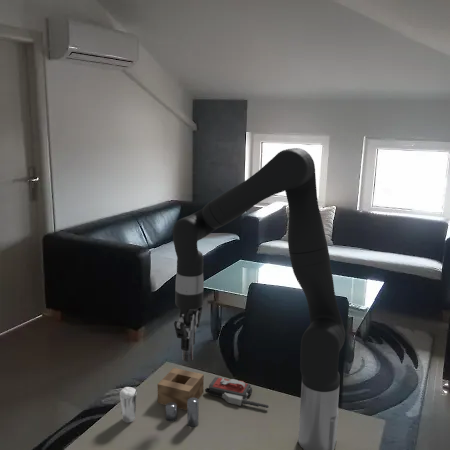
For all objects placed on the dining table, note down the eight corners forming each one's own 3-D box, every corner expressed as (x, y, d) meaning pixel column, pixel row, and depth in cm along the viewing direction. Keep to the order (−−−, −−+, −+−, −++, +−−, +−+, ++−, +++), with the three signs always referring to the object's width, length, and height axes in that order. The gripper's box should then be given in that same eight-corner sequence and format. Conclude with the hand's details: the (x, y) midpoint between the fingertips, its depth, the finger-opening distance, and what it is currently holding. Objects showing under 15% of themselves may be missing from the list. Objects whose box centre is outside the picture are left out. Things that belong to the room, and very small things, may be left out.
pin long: (194, 357, 137) (195, 317, 134) (190, 362, 134) (191, 322, 131) (184, 355, 138) (185, 315, 135) (180, 360, 135) (181, 320, 132)
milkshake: (131, 427, 129) (130, 393, 127) (116, 420, 132) (115, 387, 130) (143, 418, 133) (142, 385, 131) (128, 412, 136) (127, 380, 134)
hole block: (203, 392, 146) (203, 374, 145) (189, 410, 137) (189, 391, 136) (173, 385, 150) (173, 367, 149) (157, 402, 141) (157, 384, 139)
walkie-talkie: (201, 398, 144) (267, 413, 137) (201, 384, 143) (267, 399, 136) (212, 383, 152) (275, 397, 145) (212, 370, 151) (275, 383, 144)
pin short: (178, 416, 135) (178, 403, 134) (173, 422, 132) (173, 409, 131) (169, 414, 136) (168, 401, 135) (163, 420, 133) (163, 407, 132)
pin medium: (200, 422, 132) (200, 399, 131) (195, 428, 130) (195, 404, 128) (190, 419, 133) (190, 396, 132) (185, 425, 131) (185, 402, 129)
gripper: (191, 299, 123) (189, 361, 127) (212, 282, 136) (210, 339, 140) (164, 294, 126) (164, 355, 130) (187, 278, 139) (186, 334, 143)
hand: (187, 346), depth 135 cm, fingers closed on pin long, 3 cm apart
